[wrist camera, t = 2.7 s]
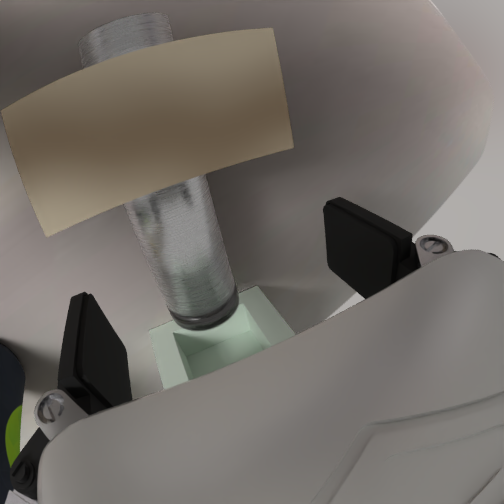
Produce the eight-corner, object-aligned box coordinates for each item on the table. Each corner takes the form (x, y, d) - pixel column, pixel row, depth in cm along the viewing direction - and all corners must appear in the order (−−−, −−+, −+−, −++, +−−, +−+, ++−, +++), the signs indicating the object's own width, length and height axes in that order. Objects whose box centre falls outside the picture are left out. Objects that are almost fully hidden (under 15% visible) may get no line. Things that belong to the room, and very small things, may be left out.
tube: (83, 54, 10) (70, 35, 7) (162, 30, 11) (176, 5, 8) (167, 298, 18) (181, 342, 15) (225, 275, 19) (250, 312, 16)
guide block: (55, 109, 12) (0, 110, 5) (206, 60, 14) (272, 27, 8) (78, 180, 14) (46, 237, 8) (222, 129, 17) (294, 147, 10)
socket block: (149, 330, 21) (171, 414, 15) (257, 285, 23) (310, 352, 17) (167, 360, 23) (193, 438, 17) (264, 319, 25) (312, 384, 19)
